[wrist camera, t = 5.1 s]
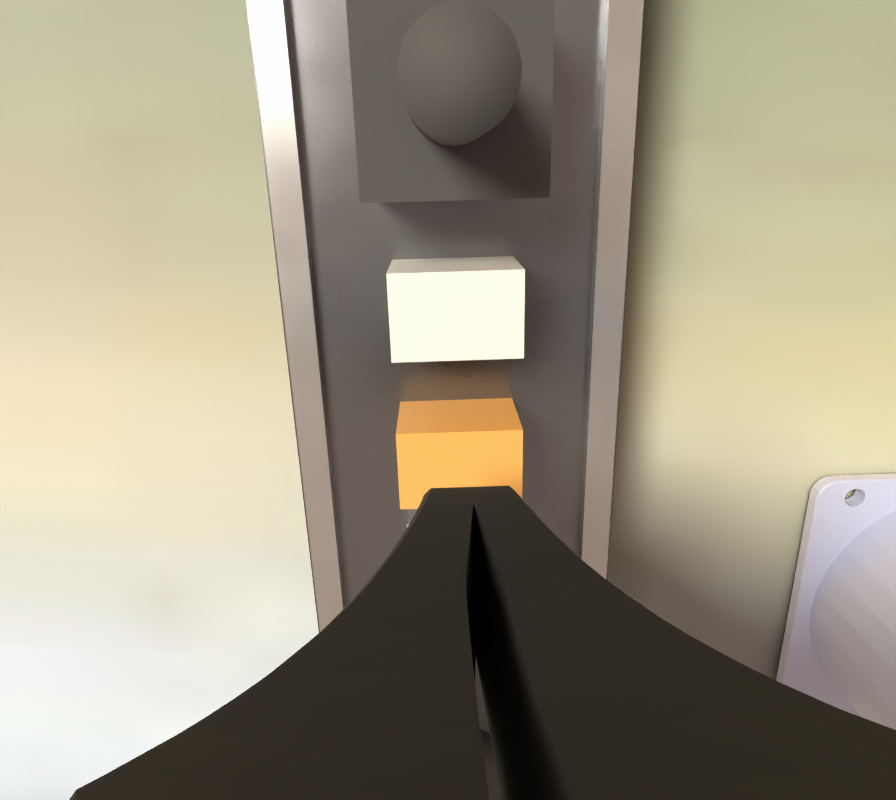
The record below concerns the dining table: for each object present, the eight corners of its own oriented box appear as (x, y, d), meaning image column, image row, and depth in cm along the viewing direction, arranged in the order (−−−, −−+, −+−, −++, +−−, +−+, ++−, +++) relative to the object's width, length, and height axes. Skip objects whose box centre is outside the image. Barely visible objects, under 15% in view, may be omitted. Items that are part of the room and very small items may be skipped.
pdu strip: (619, -197, 12) (669, -293, 10) (573, 748, 21) (593, 833, 18) (255, -189, 12) (207, -284, 10) (352, 757, 21) (340, 843, 18)
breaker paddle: (512, 256, 13) (524, 269, 11) (512, 334, 13) (524, 358, 12) (392, 259, 13) (386, 273, 11) (396, 338, 13) (391, 362, 12)
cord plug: (531, 14, 11) (599, -92, 7) (528, 192, 12) (586, 206, 8) (361, 19, 11) (312, -84, 7) (373, 197, 12) (336, 214, 8)
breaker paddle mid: (511, 397, 14) (523, 429, 12) (511, 465, 14) (522, 505, 13) (399, 401, 14) (395, 434, 12) (403, 469, 14) (400, 509, 13)
